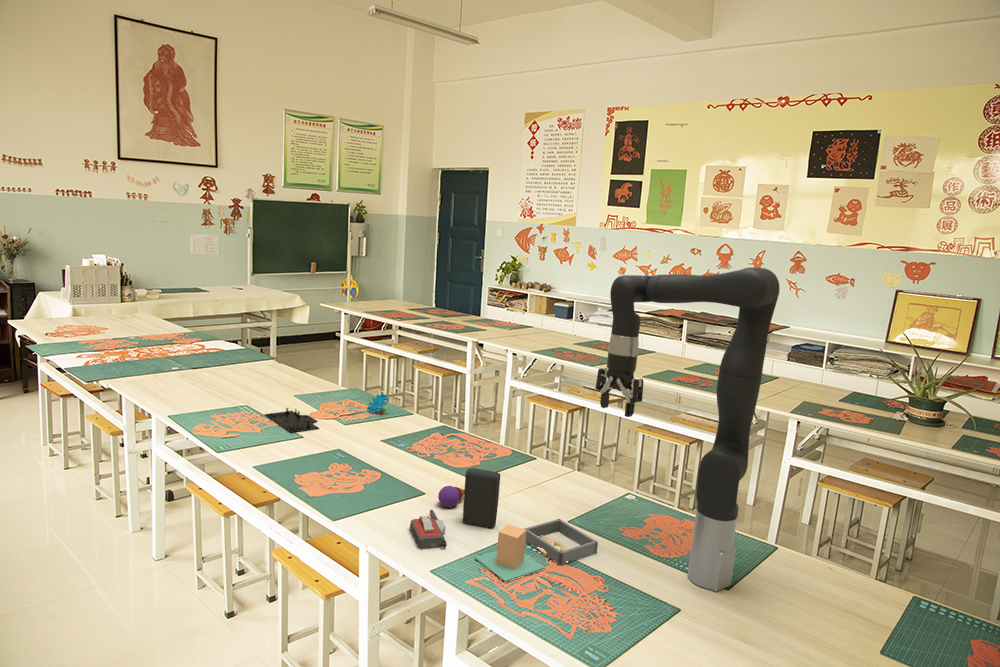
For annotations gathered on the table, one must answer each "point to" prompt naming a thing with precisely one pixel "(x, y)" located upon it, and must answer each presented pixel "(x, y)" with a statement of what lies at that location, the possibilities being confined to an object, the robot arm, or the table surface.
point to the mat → (508, 573)
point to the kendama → (450, 495)
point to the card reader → (481, 497)
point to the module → (511, 546)
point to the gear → (378, 404)
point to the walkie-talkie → (428, 532)
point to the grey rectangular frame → (586, 542)
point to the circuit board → (293, 421)
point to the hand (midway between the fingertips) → (616, 411)
